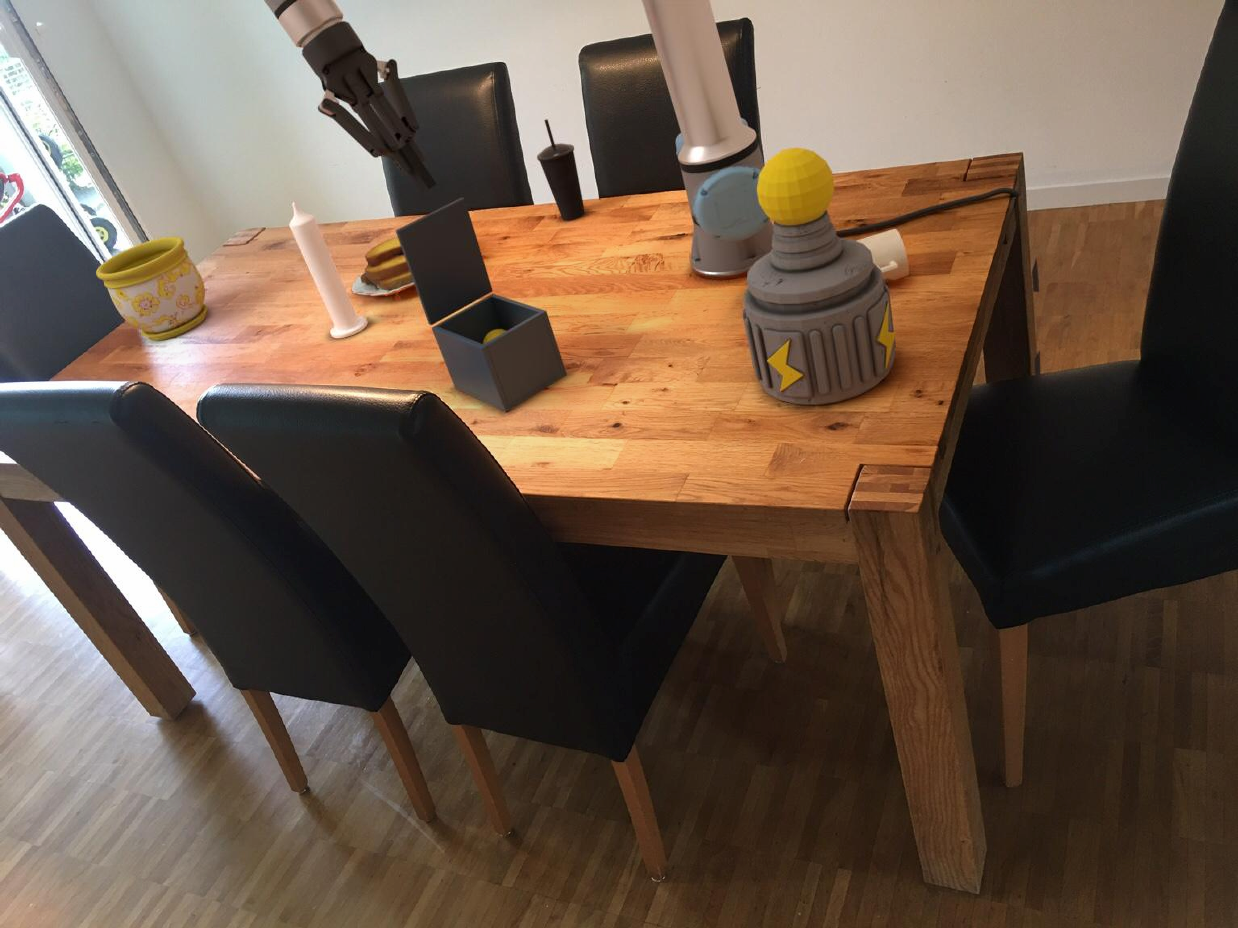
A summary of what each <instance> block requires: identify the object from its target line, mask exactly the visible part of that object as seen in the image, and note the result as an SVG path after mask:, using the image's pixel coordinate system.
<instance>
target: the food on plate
mask: <svg viewBox="0 0 1238 928" xmlns="http://www.w3.org/2000/svg"><path fill="white" fill-rule="evenodd" d="M364 258H365V261H366V262H367V265H366V267H365V268H364V271H363V272H362V273H361V274H359V275H358V276H357V278H356V279H355V280H354V282H353V284H352V285H351V290H350V291H351V293H355V294H358V295H364V296H370V297H378V296H381V297H382V296H385V297H387V296H390V295H394V296H395V297H394V299H395V300H399V299H400V298H401V296H400V295H399V292H401V291H405V290H406V289H408V288H411V287H415V284H414V281H413V278H412V276H411V273H410V270H409V267H408V264H407V262H406V259H405V256H404V253H403V250H402V248H401V245H400V242H399V239H398V236H396V237H395V236H394V237H392V238H389V239H387V240H384V241H382V242H381V243H378V244H377V245H375V246H373V247H372V248H370V249H369V250H368V251H367V252H366V253H365V255H364ZM365 303H366V302H365V301H363V302H362V304H365Z"/></svg>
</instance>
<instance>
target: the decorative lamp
mask: <svg viewBox="0 0 1238 928" xmlns="http://www.w3.org/2000/svg"><path fill="white" fill-rule="evenodd" d="M834 192H835V182H834V175H833V171H832V169H831V167H830V165H829V163H828V162H827V161H826V160H825V159H824V158H823V157H822V156H820V155H819V154H818V153H816V152H815V150H811V149H806V148H802V147H790V148H785V149H783V150H781V151H779V152H777V153H776V154H775V155H773V156H772V157H771V158H769V159H768V160H767V161H766V163H764V167H763V169H762V171H761V172H760V174H759V180H758V185H757V194H758V200H759V204H760V206H761V207H762V209H763V210H764V212H765V214H766V215H767V216H768V217H769V218H770V220H772V221H773V231H774V232H775V233H774V234H773V237H772V247H773V249H772V250H771V252H770V253H768V254H766V255H765V256H763V257H762V258H761V259H759V260H758V261H756V262H755V263H754V264H753V266H752V267H751V268H750V270H749V271H748V274H747V276H746V285H747V289H746V291H745V292H744V295H743V309H742V310H741V312H742V313H741V315H742V321H743V323H744V324H743V325H744V330H745V334H746V339H747V345H748V348H749V353H750V358H751V363H752V368H753V371H754V375H755V378H756V380H757V381H759V383H760V386H761V387H762V389H763V390H764V392H765V393H766V394H768V395H770V396H771V397H773V398H774V399H777V400H778V401H781V402H785V403H790V404H793V405H798V406H799V405H800V406H820V405H828V404H835V403H839V402H843V401H847V400H849V399H853V398H856V397H859V396H860V395H862V394H865V393H866V392H868V391H870V390H872V389H874V388H875V387H876V386H877V385H878V384H879V383H880V382H881V381H883V379H885V378H886V377H887V376H888V375H889V373H890V371H891V369H892V367H893V365H894V360H895V359H896V345H897V344H896V336H897V335H896V334H897V333H896V332H895V327H894V320H893V313H892V312H893V311H892V303H891V295H890V288H889V286H888V285H887V284H886V282H885V281H884V279H883V277H882V271H881V270H880V269H879V268H878V267H877V266H876V265H875V264H874V263H873V258H872V254H871V251H870V250H869V249H868V248H867V247H866V246H865V245H864V244H863V243H860V242H857V240H853V239H851V238H843V237H840V236H837V235H836V231H837V229H836V227H835V225H834V223H833V222H832V221H831V216H830V214H829V212H828V208H829V207H830V205H831V203H832V202H833V198H834Z"/></svg>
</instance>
